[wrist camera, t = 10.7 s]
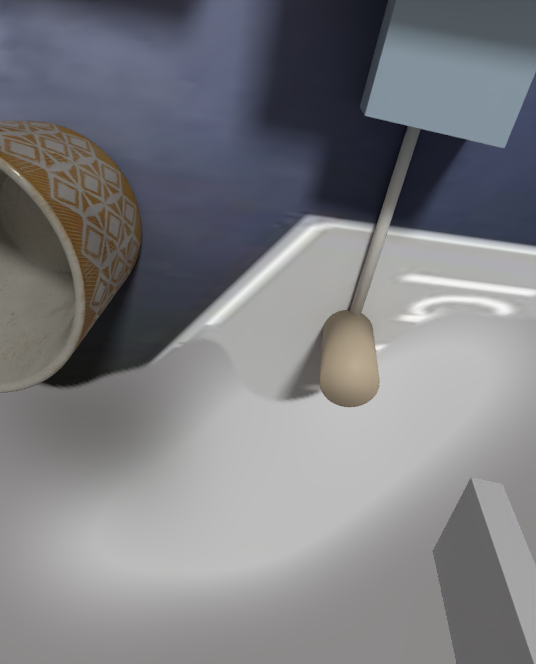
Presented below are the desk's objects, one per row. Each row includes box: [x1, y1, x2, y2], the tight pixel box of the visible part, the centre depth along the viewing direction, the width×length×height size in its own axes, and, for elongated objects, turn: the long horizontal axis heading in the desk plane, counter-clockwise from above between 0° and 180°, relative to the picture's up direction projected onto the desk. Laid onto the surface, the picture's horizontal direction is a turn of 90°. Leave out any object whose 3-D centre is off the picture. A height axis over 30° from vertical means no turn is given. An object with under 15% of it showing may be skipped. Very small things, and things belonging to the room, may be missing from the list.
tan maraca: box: [320, 0, 536, 407], centre depth 26 cm, size 6×21×6 cm, turn 169°
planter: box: [0, 121, 142, 393], centre depth 27 cm, size 13×13×10 cm
